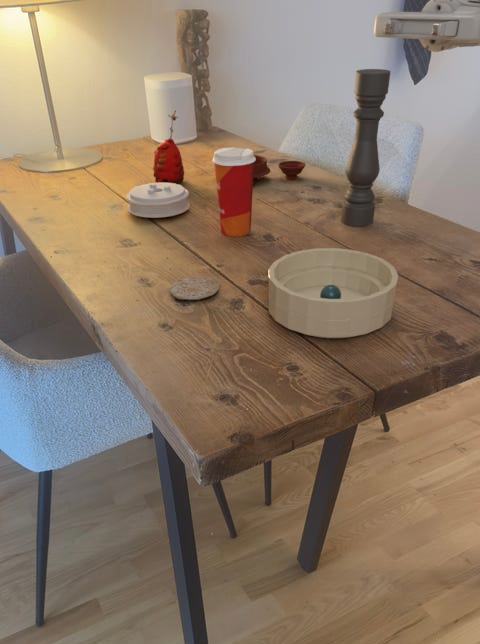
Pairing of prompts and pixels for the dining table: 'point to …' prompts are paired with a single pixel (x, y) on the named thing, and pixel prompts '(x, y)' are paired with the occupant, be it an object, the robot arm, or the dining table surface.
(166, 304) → the dining table surface
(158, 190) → the lid
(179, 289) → the flatbread
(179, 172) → the red vase with sprig
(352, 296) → the bowl
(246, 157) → the paper cup
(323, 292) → the bead
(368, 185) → the candle holder
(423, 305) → the dining table surface
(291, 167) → the pottery
